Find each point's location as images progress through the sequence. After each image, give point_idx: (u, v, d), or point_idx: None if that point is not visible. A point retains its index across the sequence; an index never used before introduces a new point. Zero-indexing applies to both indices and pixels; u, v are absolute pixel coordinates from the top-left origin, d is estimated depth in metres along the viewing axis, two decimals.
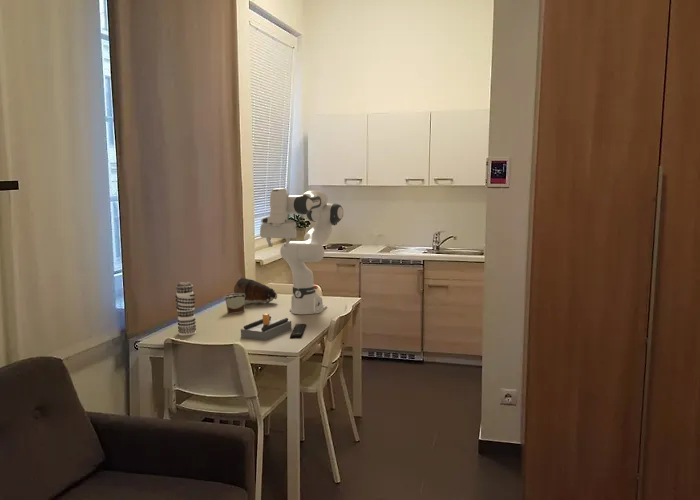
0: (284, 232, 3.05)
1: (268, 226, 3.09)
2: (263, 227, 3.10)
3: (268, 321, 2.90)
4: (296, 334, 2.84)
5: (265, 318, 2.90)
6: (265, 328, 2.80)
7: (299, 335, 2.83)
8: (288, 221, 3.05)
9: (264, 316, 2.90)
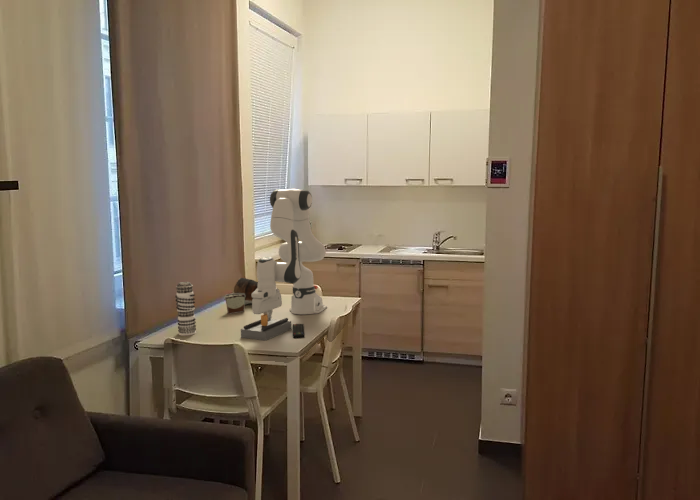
0: (276, 302, 2.95)
1: (265, 300, 2.86)
2: (261, 303, 2.83)
3: (266, 322, 2.89)
4: (298, 334, 2.85)
5: (263, 319, 2.88)
6: (265, 328, 2.80)
7: (302, 335, 2.83)
8: None
9: (262, 317, 2.88)
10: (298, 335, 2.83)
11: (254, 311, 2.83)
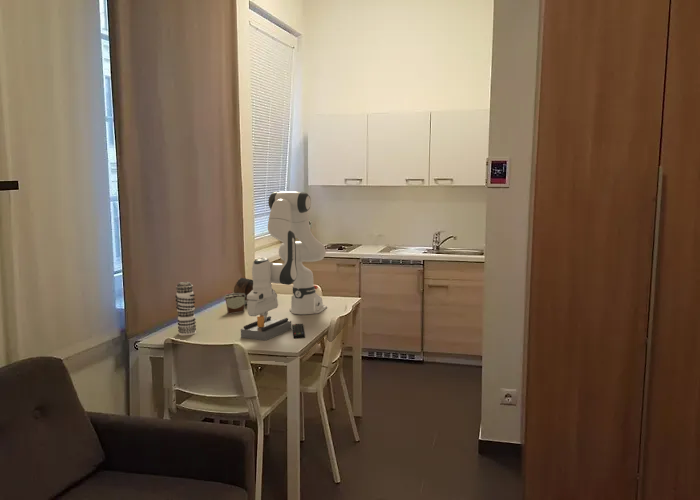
0: (272, 304, 2.91)
1: (260, 302, 2.83)
2: (256, 305, 2.80)
3: (263, 323, 2.86)
4: (298, 334, 2.85)
5: (260, 320, 2.86)
6: (265, 328, 2.80)
7: (302, 335, 2.83)
8: None
9: (258, 318, 2.86)
10: (299, 335, 2.83)
11: (249, 313, 2.79)
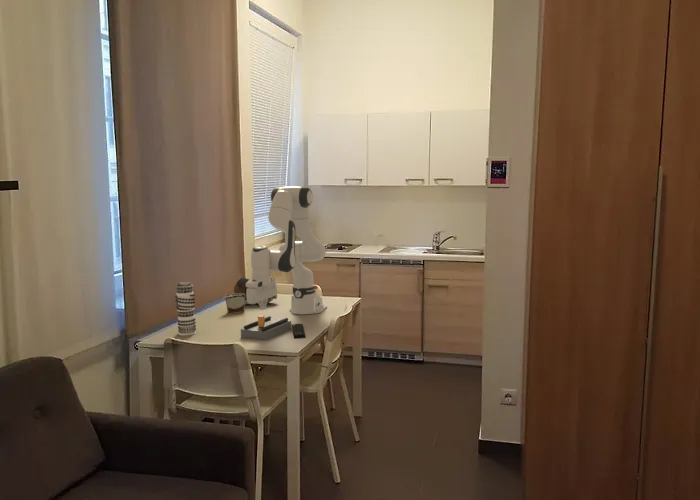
0: (271, 291, 2.91)
1: (259, 290, 2.82)
2: (255, 293, 2.79)
3: (263, 323, 2.87)
4: (299, 334, 2.85)
5: (260, 320, 2.86)
6: (265, 328, 2.80)
7: (303, 335, 2.83)
8: None
9: (259, 318, 2.86)
10: (299, 335, 2.83)
11: (248, 301, 2.79)
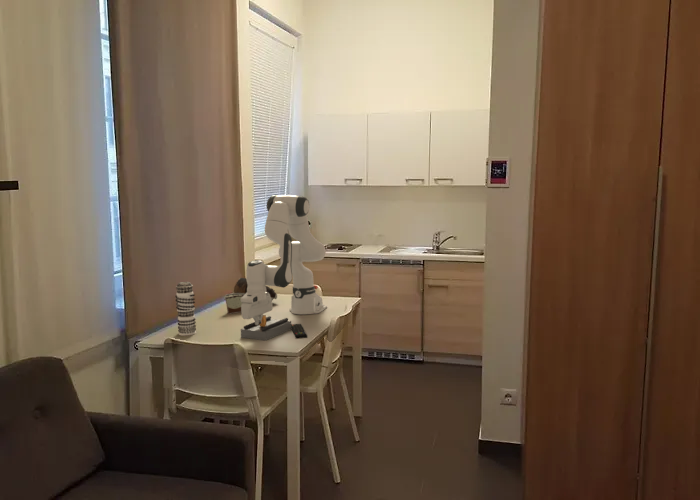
0: (266, 306, 2.88)
1: (254, 305, 2.79)
2: (250, 308, 2.76)
3: (265, 322, 2.88)
4: (300, 334, 2.85)
5: (262, 319, 2.87)
6: (265, 328, 2.80)
7: (304, 335, 2.83)
8: None
9: None
10: (301, 335, 2.83)
11: (243, 316, 2.76)
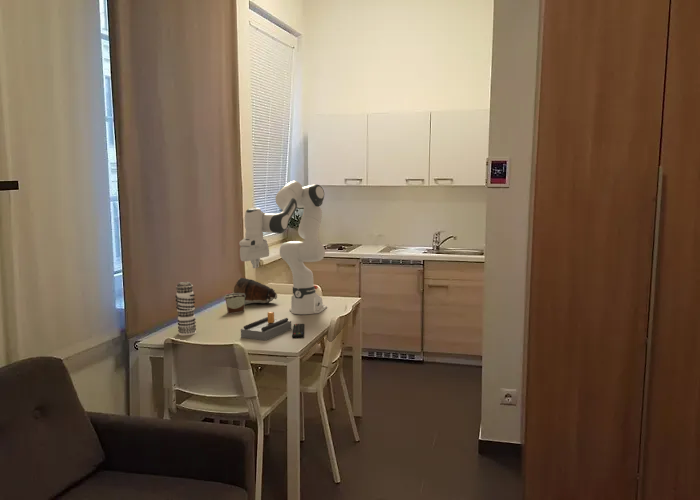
0: (263, 252, 3.08)
1: (252, 248, 2.99)
2: (248, 251, 2.97)
3: (273, 319, 2.94)
4: (298, 334, 2.84)
5: (270, 316, 2.93)
6: (265, 328, 2.80)
7: (301, 335, 2.83)
8: (262, 240, 3.09)
9: (269, 314, 2.93)
10: (298, 335, 2.83)
11: (242, 258, 2.96)
